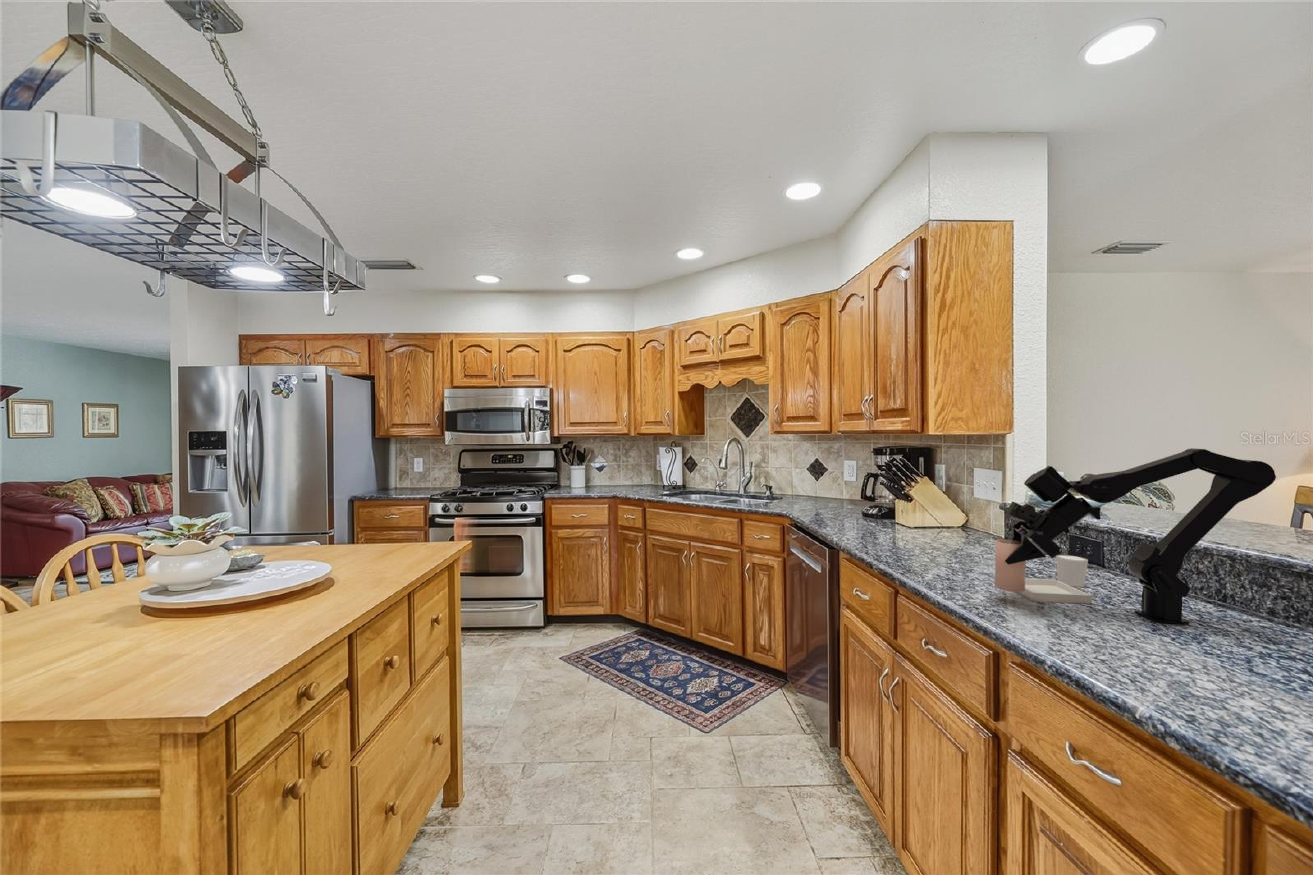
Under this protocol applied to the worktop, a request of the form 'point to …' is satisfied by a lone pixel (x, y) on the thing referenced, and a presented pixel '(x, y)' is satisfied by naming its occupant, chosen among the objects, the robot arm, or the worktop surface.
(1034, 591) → the tray
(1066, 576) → the white short cylinder
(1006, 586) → the deep cup
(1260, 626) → the worktop surface
